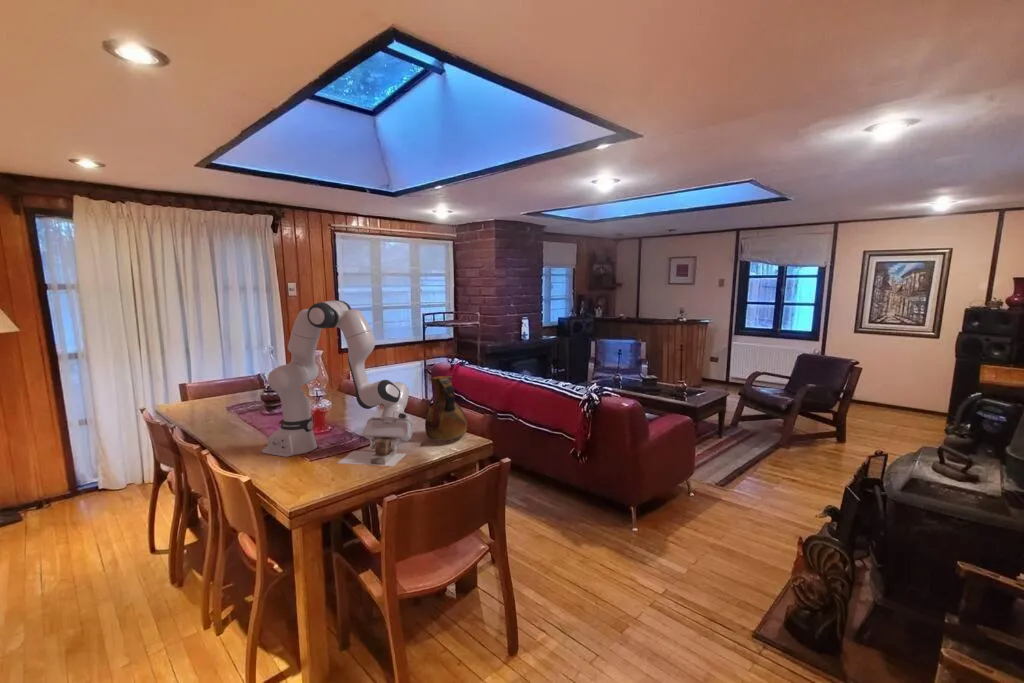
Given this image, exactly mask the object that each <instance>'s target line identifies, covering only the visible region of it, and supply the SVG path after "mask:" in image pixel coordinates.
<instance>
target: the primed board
mask: <svg viewBox="0 0 1024 683" xmlns="http://www.w3.org/2000/svg"><path fill="white" fill-rule="evenodd" d="M374 454H376V453H375V451H363V450H362V451H360V450H353V451H352V452H350V453H348V454H347V455H346V456H344V457H343V458H341V459H339V461H337V464H346V465H361V466H362V465H365V466H377V467H378V466H380V467H381V466H382V467H395V466H396V465H397V464H398V463H399V462H401V460H402V459H403V458H404V457H405V456H407V453H397V452H396V455H395V456H394V457H393V458H392V459H390V460H389V461H388V462H387V463H386V464H385V465H383V464H371V460H370V458H371V457H372V456H373V455H374Z"/></svg>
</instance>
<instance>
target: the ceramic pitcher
mask: <svg viewBox="0 0 1024 683" xmlns="http://www.w3.org/2000/svg"><path fill="white" fill-rule="evenodd" d="M452 378H453V376H452V375H441V376H440V375H439V376H434V377H432V378H429V380H430V381H431V382H432V384H434V387H435V391H436V400H435V402H434V403H433V404H432V405H431V406H430V408H429V410H428V411H427V414H426V416H425V420H424V421H425V422H424V429H425V434H426V436H427V438H429V439H431V440H436V441H451V440H459V439H461V438H463V437H464V436H465V434H466V433H467V431H468V420H467V416H466V414H465V411H464V410H463V408H462V407H461V406H460V405H459V403H457V402H456V401H455V395H456V394H455V389H454V386H453V383H452V381H451V379H452Z"/></svg>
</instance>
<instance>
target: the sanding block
mask: <svg viewBox="0 0 1024 683" xmlns="http://www.w3.org/2000/svg"><path fill="white" fill-rule="evenodd" d="M374 444H375V448H374V450H375V451H374V452H375V453H376V454H374V455H373V456H372V457H371V458H370V460H371V464H383V465H385V464H386V463H387V462H388V461H389V460H390V459H392V458H393V457H394V456H395V455H396V453H397V449H396V450H392V440H391V438H379V439H376V441H374Z"/></svg>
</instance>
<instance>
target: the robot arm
mask: <svg viewBox="0 0 1024 683" xmlns="http://www.w3.org/2000/svg"><path fill="white" fill-rule="evenodd" d="M368 322H369V321H368V320H367V318H366V317H365V315H364V314H363V312H362V311H361V310H359V309H354V308H351V306H350V305H349V303H347V302H345V301H343V300H338V299H337V300H325V301H321V302H320V301H319V302H316V303H314V304H312V305H311V306H310V307H309V308H305V309H304V308H303V309H302V310H300V311H299V313H298V314H297V317H296V319H295V320H294V323H293V326H292V329H291V333H290V336H289V340H288V344H287V350H288V351H289V353H290V354H291V356H290V357H291V359H290V362H289V363H286V364H283V365H279V366H277V367H276V368H274V369H273V370H271V371H270V372H269V373H268V375H267V383H268V386H269V387H270V388H271V389H272V390H273V391H274V392H276V394H277V395H278V397H279V399H280V402H281V407H282V416H283V419H281V420H280V421H278V422H277V423H278V425H280V424H281V425H280V428H278V429H276V431H274V432H273V433H272V434H270V436H269V437H268V439H267V445H266V446H264V447H263V448H262V450H261V453H262V454H265V455H266V454H268V455H274V456H278V457H284V458H287V457H291V456H296V455H301V454H307V453H309V452H311V451H314V450H315V449H317V448H318V444H317V441H316V438H315V435H314V434H315V433H314V431H313V430H314V426H313V425H314V422H313V421H314V420H313V415H312V407H311V399H310V398H309V397H308V396H306V395H305V394H304V391H303V386H306V385H308V384H311V383H312V382H313V381H314V380H316V379H317V377H318V376H319V372H320V368H319V366H318V364H317V363H316V352H317V346H318V343H319V340H320V336H321V333H322V330H323V329H334V328H338V329H339V330H341V332H342V334H343V337H344V339H345V341H346V346H347V350H348V352H347V353H348V354H347V362H348V365H349V366H348V367H349V370H350V373H351V377H352V381H353V385H354V389H355V399H356V402H357V403H358V405H359V406H360V407H361V408H362V409H365V410H366V409H367V410H371V409H372V408H374V407H378V406H381V405H382V406H383V410H382V412H381V416H380V417H371V418H369V419H367V422H366V425H365V427H364V429H363V432H362V435H363V437H364V438H365V439H368V440H369V443H370V445H369V448H370V449H371V450H372V449H374V450H375V442H376V441H375V440H378V439H379V438H391V441H396V442H395V443H393V444H392V443H391V448H392V450H396V451H397V448H398V446H400V444H401V443H402V441H406V442H407V441H410V440H411V439H412V435H413V425H414V422H413V419H412V418H411V416H409V414H407V413H405V408H406V407H407V405H408V401H409V396H410V390H409V387H408V386H407V384H405V383H403V382H400V381H396V382H393V381H390V380H388V379H382V380H379V381H375V382H372V383H370V382H369V378H368V375H367V371H366V365H365V364H366V360H367V359H368V358H369V355H371V353H372V352H373V350H374V349H375V345H376V340H375V339H376V338H375V336H374V333H373V331H372V329H371V326H370V323H368Z"/></svg>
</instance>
